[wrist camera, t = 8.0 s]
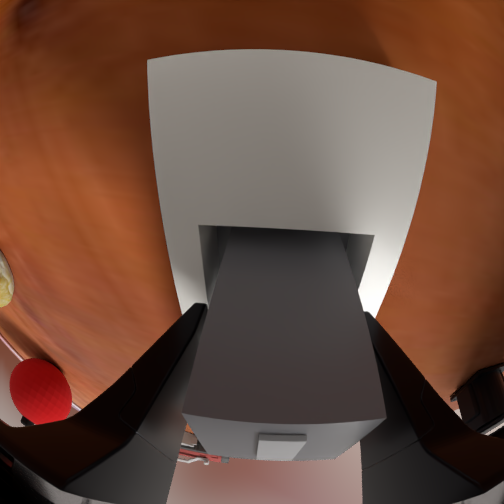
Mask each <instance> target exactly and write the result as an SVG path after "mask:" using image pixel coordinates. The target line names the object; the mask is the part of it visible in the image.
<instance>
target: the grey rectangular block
mask: <svg viewBox="0 0 504 504" xmlns="http://www.w3.org/2000/svg"><path fill="white" fill-rule="evenodd" d="M182 415H183V417H184V418H185V420H186V422H187V423H188V425H189V426H190V428H191V429H192V431H193V433H194V434H195V436H196V437H197V439H198V440H199V442H200V443H201V445H202V446H203V447H204V449H205V450H206V452H207V453H208V454H210V455H217V456H224V457H233V458H243V459H255V460H256V459H257V460H277V461H305V460H326V459H335V458H336V457H338V456H339V455H341V454H342V453H344V452H345V451H346V450H348V449H349V448H350V447H352V446H353V445H354V444H356V443H357V442H358V441H360V440H361V439H362V438H363V437H365V436H366V435H367V434H368V433H370V432H371V431H372V430H373V429H374V428H376V427H377V426H378V425H379V424H380V423H381V422H383V421H384V420H385V419H386V418H387V417H386V410H385V404H384V399H383V393H382V388H381V383H380V378H379V373H378V368H377V363H376V359H375V354H374V350H373V346H372V342H371V337H370V333H369V329H368V326H367V322H366V318H365V314H364V311H363V307H362V303H361V300H360V296H359V293H358V289H357V286H356V283H355V279H354V276H353V273H352V270H351V267H350V264H349V260H348V257H347V254H346V251H345V248H344V245H343V243H342V240H341V237H340V234H339V232H327V231H312V230H296V229H279V228H260V227H239V226H232V228H231V232H230V235H229V238H228V242H227V245H226V249H225V252H224V255H223V259H222V262H221V266H220V269H219V273H218V276H217V280H216V283H215V287H214V290H213V294H212V297H211V301H210V305H209V308H208V312H207V316H206V319H205V323H204V327H203V330H202V334H201V338H200V342H199V345H198V349H197V353H196V357H195V361H194V364H193V368H192V372H191V376H190V380H189V384H188V388H187V392H186V396H185V400H184V404H183V408H182Z"/></svg>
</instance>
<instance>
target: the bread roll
mask: <svg viewBox="0 0 504 504" xmlns="http://www.w3.org/2000/svg"><path fill="white" fill-rule="evenodd" d="M13 292H14V280H13V275H12V272H11V270H10V267H9V265H8V262H7V260H6V258H5V257H4V255H3V254H2V252H1V251H0V308H1V307H3V306H5V305H7V304H8V303H9V302H10V301H11V299H12V295H13Z"/></svg>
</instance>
